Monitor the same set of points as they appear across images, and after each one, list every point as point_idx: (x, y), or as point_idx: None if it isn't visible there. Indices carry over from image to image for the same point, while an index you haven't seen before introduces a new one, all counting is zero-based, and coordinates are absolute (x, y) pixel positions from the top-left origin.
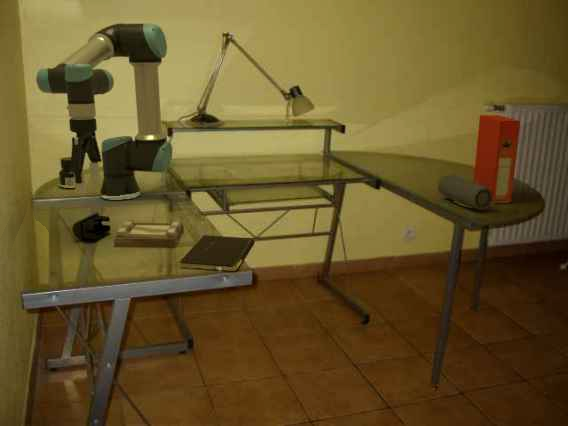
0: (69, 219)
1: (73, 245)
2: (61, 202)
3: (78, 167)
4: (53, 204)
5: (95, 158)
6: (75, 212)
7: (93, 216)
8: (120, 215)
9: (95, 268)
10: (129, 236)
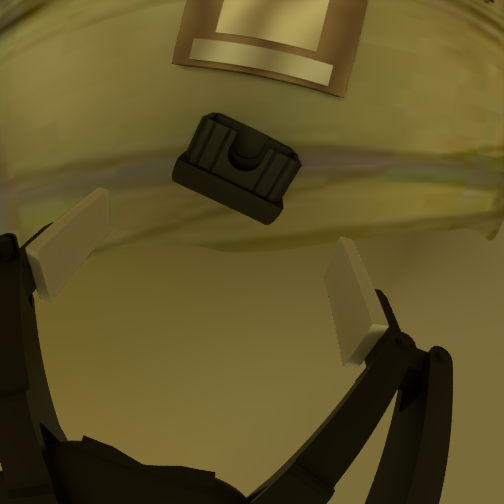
0: None
1: (300, 204)
2: None
3: (452, 370)
4: None
5: (23, 286)
6: None
7: (209, 171)
8: (53, 121)
9: (463, 153)
10: (332, 50)
